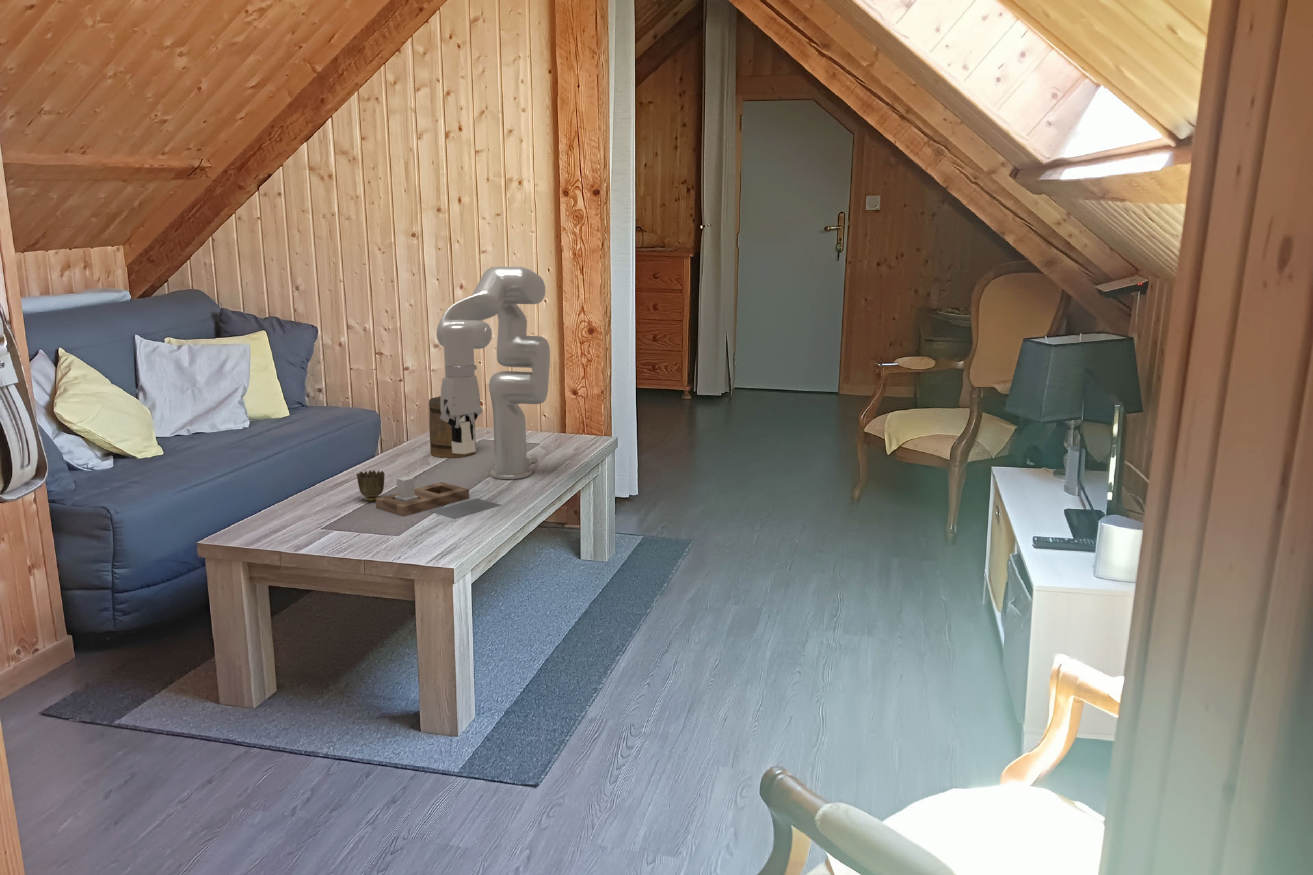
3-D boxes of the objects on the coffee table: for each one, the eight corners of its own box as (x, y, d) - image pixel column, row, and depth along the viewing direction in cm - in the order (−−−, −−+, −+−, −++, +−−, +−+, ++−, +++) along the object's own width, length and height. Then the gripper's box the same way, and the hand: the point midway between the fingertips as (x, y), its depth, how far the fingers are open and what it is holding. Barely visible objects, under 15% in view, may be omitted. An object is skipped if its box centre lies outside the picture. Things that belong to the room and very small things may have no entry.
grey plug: (407, 503, 269) (405, 475, 268) (418, 507, 266) (416, 478, 265) (395, 507, 266) (393, 478, 265) (406, 510, 263) (404, 481, 262)
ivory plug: (464, 450, 265) (461, 420, 264) (475, 451, 262) (472, 421, 261) (452, 453, 262) (449, 423, 261) (464, 454, 259) (460, 423, 258)
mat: (476, 500, 275) (476, 498, 275) (501, 506, 269) (501, 504, 268) (430, 513, 263) (430, 511, 263) (454, 520, 257) (454, 518, 256)
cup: (385, 504, 271) (383, 475, 269) (357, 505, 270) (355, 477, 268) (387, 496, 278) (385, 469, 276) (359, 498, 277) (357, 470, 275)
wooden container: (471, 458, 322) (468, 391, 317) (425, 458, 323) (422, 391, 318) (480, 447, 337) (477, 383, 332) (436, 447, 337) (433, 383, 332)
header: (441, 492, 283) (441, 482, 282) (469, 499, 275) (468, 489, 275) (376, 509, 266) (375, 498, 266) (403, 517, 259) (403, 506, 258)
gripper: (474, 366, 266) (477, 433, 270) (425, 374, 254) (428, 444, 258) (493, 369, 261) (496, 437, 265) (443, 376, 249) (447, 448, 253)
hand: (462, 440), depth 261 cm, fingers closed on ivory plug, 3 cm apart
